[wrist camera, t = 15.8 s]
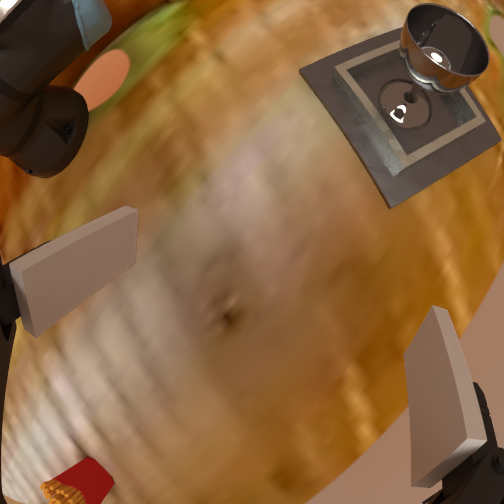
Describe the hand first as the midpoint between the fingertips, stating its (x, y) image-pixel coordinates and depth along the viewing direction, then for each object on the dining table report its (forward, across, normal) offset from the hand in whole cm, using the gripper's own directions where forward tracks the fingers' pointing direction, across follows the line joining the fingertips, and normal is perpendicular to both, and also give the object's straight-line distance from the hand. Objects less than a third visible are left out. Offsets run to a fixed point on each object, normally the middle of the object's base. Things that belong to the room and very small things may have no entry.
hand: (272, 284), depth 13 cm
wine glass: (+30, +7, +12) cm, 33 cm away
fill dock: (+31, +8, +12) cm, 34 cm away
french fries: (+4, -20, -52) cm, 56 cm away
